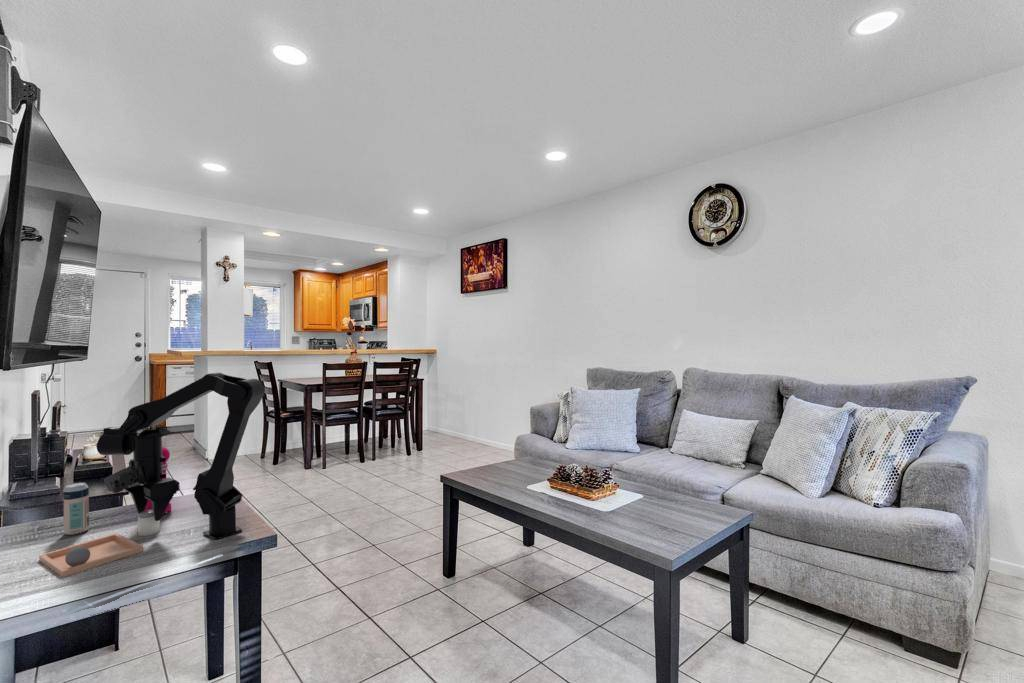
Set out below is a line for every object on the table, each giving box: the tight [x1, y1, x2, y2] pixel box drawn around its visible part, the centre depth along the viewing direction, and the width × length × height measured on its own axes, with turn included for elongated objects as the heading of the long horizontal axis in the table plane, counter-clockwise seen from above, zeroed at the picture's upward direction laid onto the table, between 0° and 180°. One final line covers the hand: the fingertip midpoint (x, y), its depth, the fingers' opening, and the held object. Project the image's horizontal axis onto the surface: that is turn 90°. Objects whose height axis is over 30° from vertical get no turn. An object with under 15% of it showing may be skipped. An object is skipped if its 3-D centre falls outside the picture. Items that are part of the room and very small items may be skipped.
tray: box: [38, 532, 144, 578], centre depth 109 cm, size 14×14×2 cm
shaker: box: [137, 509, 161, 537], centre depth 122 cm, size 4×4×6 cm
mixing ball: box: [65, 546, 90, 567], centre depth 104 cm, size 4×4×4 cm
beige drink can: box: [62, 482, 90, 536], centre depth 123 cm, size 5×5×12 cm
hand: (149, 516), depth 122 cm, fingers open, 9 cm apart
